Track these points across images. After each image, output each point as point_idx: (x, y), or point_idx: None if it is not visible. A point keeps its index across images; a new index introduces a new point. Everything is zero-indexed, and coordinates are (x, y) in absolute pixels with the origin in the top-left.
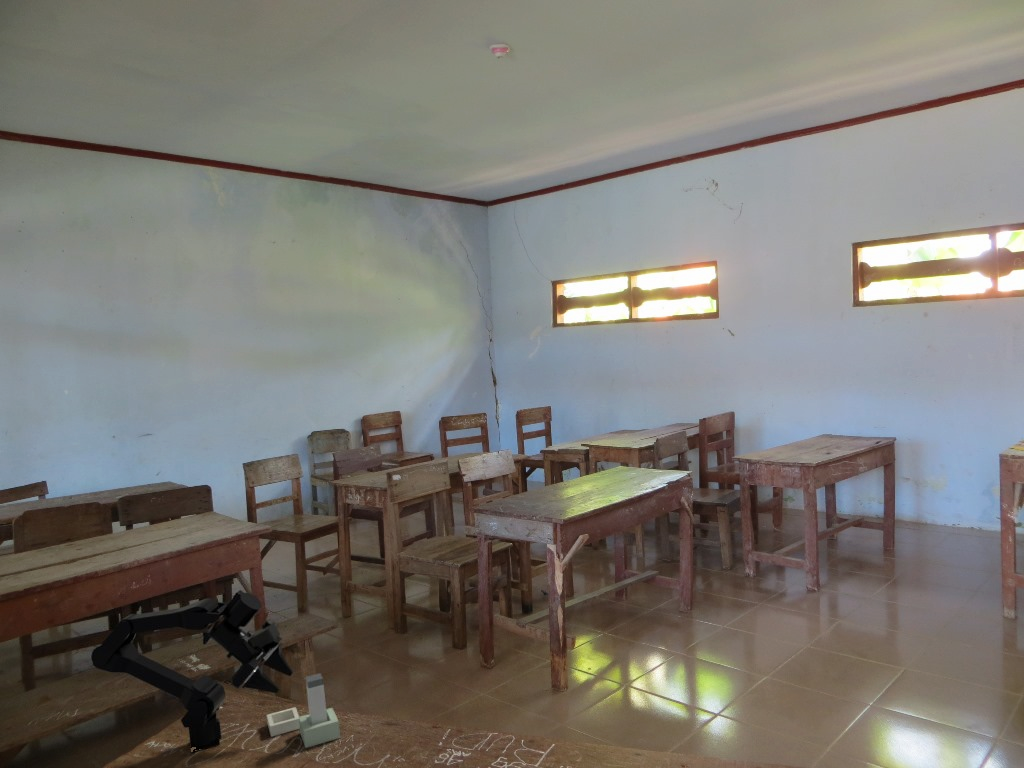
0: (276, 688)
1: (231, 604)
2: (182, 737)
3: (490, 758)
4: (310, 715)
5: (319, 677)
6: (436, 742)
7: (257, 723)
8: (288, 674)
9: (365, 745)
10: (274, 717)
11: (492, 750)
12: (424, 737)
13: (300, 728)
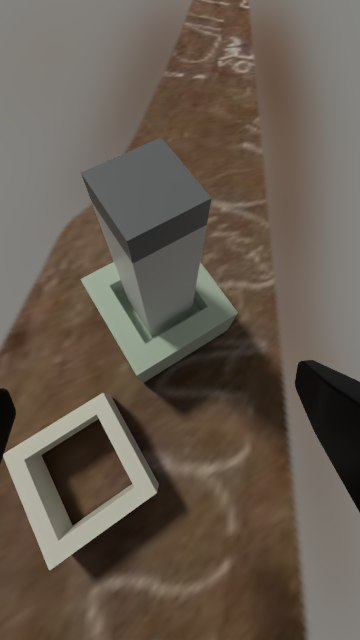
0: (328, 369)
1: None
2: None
3: (247, 15)
4: (174, 306)
5: (145, 158)
6: (197, 82)
7: (38, 616)
8: (9, 422)
9: None
10: (58, 524)
11: (223, 15)
12: (177, 102)
13: (158, 368)
